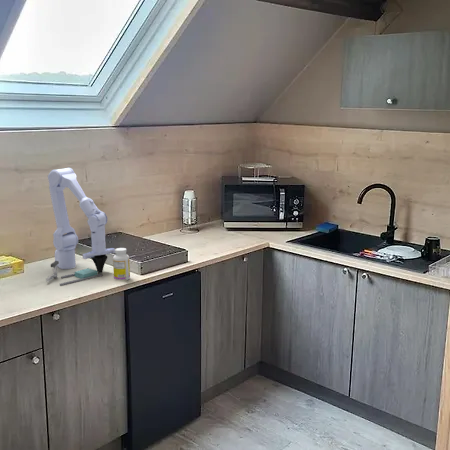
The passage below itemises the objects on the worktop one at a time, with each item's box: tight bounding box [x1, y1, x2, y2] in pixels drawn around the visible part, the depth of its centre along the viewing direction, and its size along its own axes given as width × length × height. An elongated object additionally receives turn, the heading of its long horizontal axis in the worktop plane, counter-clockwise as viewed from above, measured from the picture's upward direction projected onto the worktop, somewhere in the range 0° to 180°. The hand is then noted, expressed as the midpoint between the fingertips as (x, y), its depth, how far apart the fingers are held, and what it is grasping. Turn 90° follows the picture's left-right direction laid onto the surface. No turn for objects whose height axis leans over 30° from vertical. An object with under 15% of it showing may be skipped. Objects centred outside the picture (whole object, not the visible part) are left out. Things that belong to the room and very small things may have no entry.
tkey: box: [45, 260, 59, 282], centre depth 232 cm, size 10×1×7 cm, turn 172°
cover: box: [74, 267, 98, 279], centre depth 239 cm, size 6×7×3 cm
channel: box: [59, 272, 103, 287], centre depth 236 cm, size 9×19×2 cm, turn 134°
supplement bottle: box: [112, 247, 131, 281], centre depth 236 cm, size 7×7×13 cm
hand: (99, 272), depth 243 cm, fingers closed
